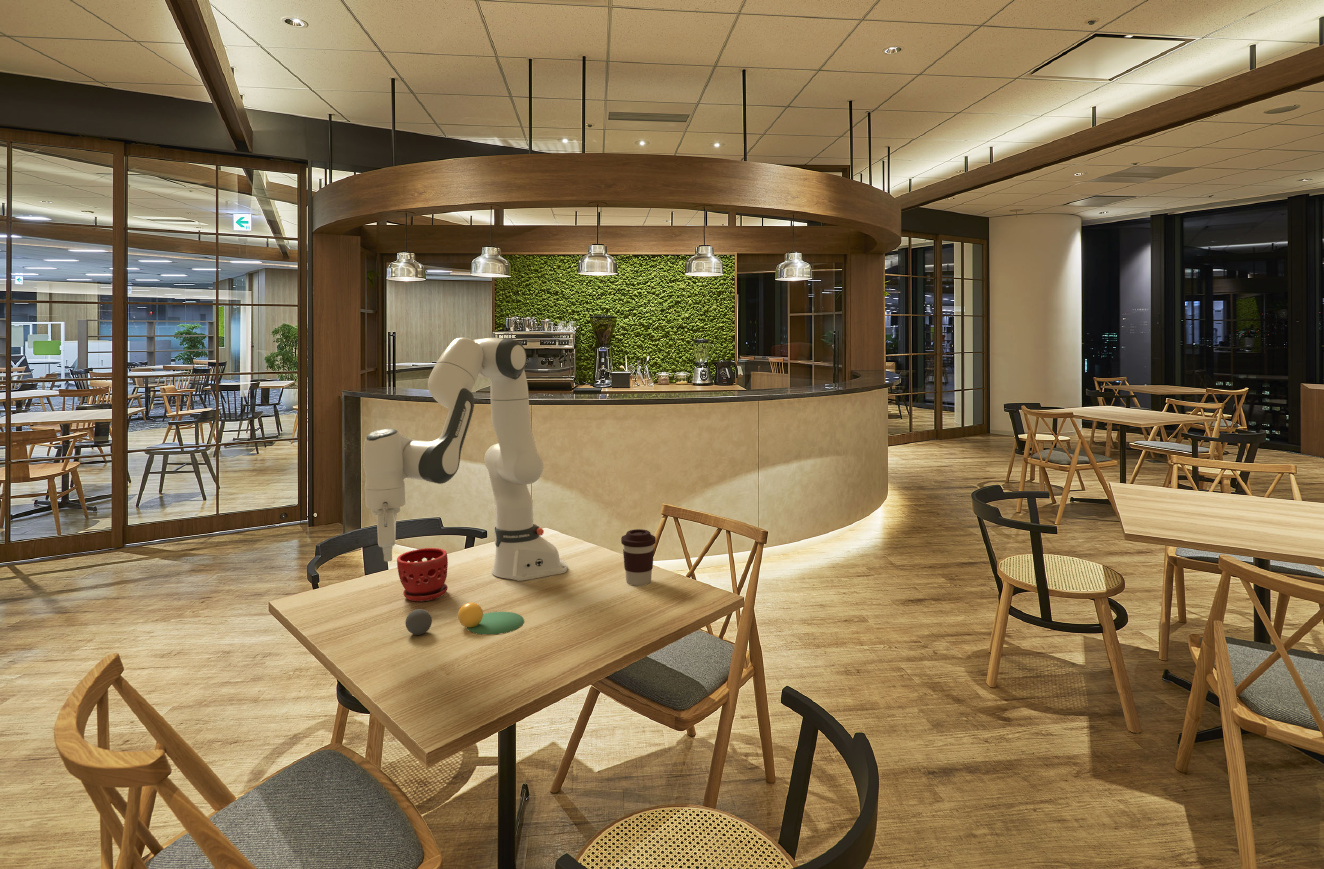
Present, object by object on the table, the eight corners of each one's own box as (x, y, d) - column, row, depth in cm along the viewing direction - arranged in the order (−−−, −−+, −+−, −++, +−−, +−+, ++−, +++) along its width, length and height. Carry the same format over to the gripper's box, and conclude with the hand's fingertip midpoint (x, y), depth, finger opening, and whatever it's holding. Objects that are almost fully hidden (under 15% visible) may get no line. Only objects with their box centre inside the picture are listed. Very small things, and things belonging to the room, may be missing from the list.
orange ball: (453, 618, 176) (475, 625, 178) (454, 627, 171) (478, 634, 173) (463, 595, 176) (485, 603, 179) (465, 604, 171) (488, 611, 173)
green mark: (519, 609, 186) (519, 608, 186) (528, 630, 173) (528, 629, 173) (463, 616, 181) (463, 616, 181) (469, 638, 168) (469, 637, 168)
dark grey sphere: (401, 611, 172) (410, 633, 173) (401, 621, 166) (410, 643, 167) (426, 601, 173) (435, 622, 175) (426, 610, 168) (435, 632, 169)
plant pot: (426, 585, 205) (424, 544, 203) (459, 593, 198) (457, 551, 196) (388, 599, 193) (386, 556, 192) (422, 608, 187) (420, 564, 185)
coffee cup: (615, 585, 204) (615, 534, 202) (630, 574, 213) (629, 526, 211) (647, 590, 200) (647, 538, 198) (660, 579, 209) (660, 529, 207)
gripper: (399, 507, 159) (402, 566, 161) (399, 488, 178) (402, 542, 180) (369, 509, 157) (372, 569, 159) (372, 490, 176) (375, 544, 178)
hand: (388, 554), depth 170 cm, fingers open, 8 cm apart
